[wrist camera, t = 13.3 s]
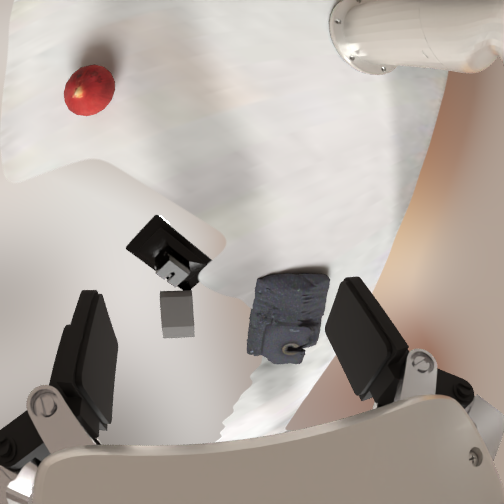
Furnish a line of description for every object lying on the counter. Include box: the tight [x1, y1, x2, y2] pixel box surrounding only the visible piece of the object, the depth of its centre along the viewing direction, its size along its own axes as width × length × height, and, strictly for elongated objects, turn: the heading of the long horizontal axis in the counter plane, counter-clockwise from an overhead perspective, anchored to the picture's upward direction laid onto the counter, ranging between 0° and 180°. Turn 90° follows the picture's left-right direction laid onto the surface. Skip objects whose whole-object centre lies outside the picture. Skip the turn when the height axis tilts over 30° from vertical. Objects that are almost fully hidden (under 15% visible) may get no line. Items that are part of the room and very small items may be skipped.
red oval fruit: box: [64, 65, 115, 116], centre depth 24 cm, size 6×6×8 cm
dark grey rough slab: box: [247, 273, 330, 364], centre depth 52 cm, size 15×22×5 cm
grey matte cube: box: [160, 290, 194, 338], centre depth 44 cm, size 5×6×5 cm
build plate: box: [126, 215, 212, 291], centre depth 40 cm, size 12×7×5 cm, turn 40°
